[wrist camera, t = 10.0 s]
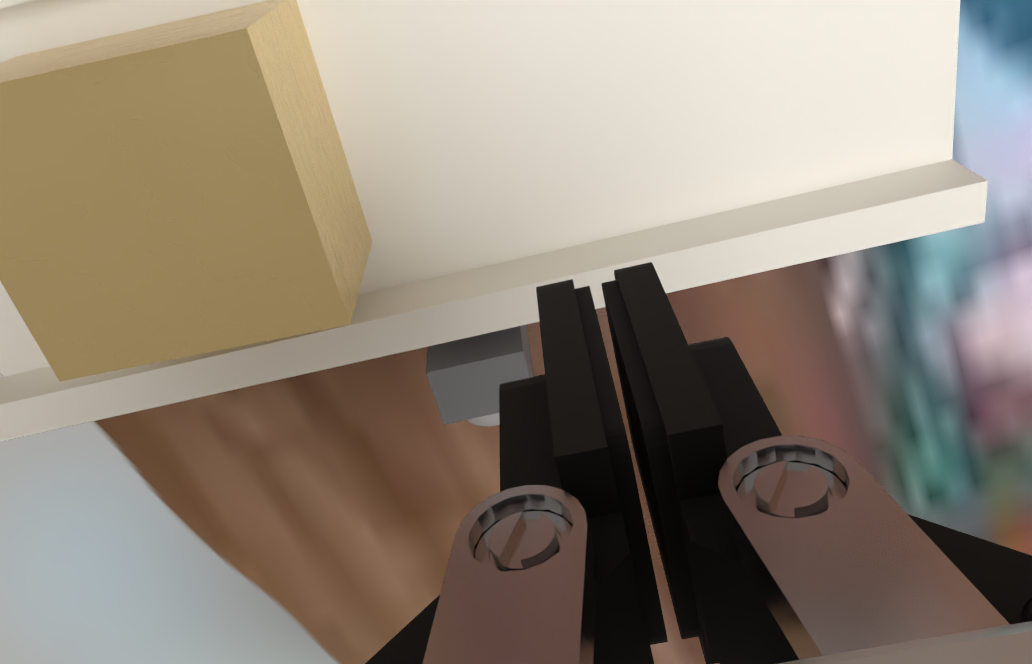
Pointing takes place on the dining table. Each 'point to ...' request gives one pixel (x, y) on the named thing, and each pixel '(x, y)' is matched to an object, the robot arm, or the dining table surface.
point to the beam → (563, 160)
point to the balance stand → (477, 373)
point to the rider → (175, 192)
